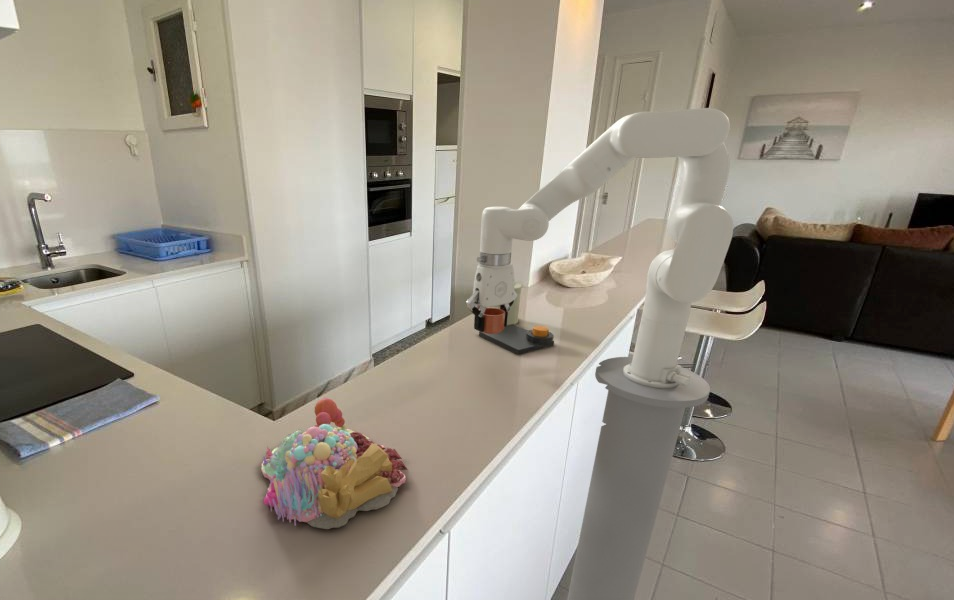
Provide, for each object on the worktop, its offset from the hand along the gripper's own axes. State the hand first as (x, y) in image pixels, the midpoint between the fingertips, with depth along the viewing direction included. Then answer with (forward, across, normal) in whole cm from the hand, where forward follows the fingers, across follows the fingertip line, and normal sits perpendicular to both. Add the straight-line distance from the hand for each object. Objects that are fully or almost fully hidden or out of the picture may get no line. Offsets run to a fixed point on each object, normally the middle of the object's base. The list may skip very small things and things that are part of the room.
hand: (490, 327), depth 124 cm
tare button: (+5, +17, -2) cm, 17 cm away
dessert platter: (+7, -57, -27) cm, 64 cm away
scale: (+8, +12, +3) cm, 15 cm away
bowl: (+1, 0, 0) cm, 1 cm away
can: (+8, +22, +18) cm, 29 cm away
